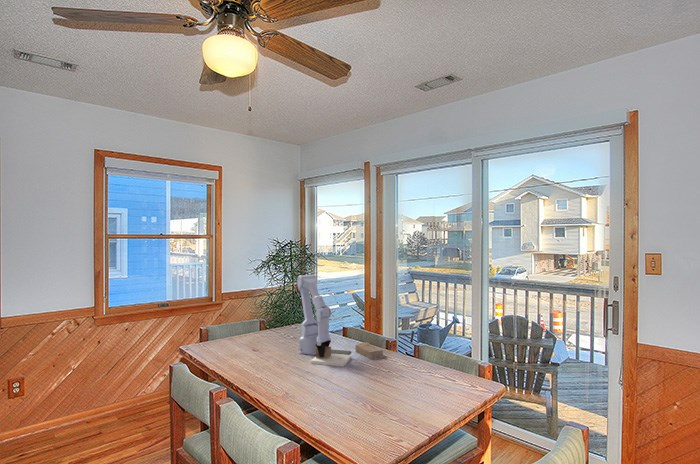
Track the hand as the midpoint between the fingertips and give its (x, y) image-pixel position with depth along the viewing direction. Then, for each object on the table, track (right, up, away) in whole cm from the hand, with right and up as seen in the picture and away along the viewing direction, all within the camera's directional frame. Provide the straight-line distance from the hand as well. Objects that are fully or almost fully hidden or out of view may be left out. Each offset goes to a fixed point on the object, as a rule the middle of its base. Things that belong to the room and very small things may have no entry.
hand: (323, 355), depth 199 cm
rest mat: (+8, -3, +11) cm, 14 cm away
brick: (+25, -3, +9) cm, 27 cm away
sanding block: (0, -1, 0) cm, 1 cm away
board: (+4, -2, -1) cm, 5 cm away
